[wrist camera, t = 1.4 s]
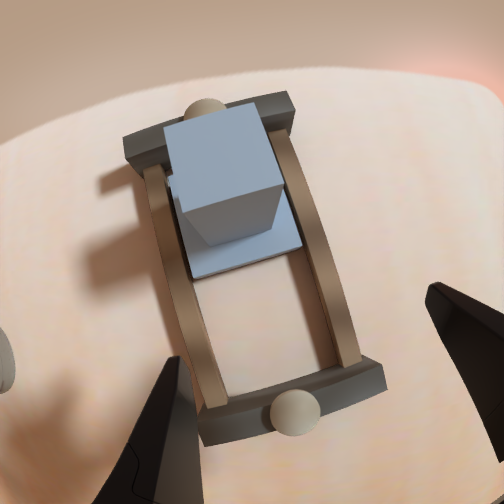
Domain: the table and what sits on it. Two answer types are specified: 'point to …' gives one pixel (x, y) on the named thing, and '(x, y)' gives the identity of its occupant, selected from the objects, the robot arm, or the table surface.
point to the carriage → (228, 191)
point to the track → (188, 311)
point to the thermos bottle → (6, 364)
